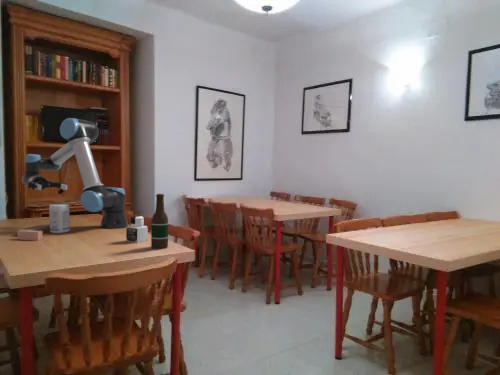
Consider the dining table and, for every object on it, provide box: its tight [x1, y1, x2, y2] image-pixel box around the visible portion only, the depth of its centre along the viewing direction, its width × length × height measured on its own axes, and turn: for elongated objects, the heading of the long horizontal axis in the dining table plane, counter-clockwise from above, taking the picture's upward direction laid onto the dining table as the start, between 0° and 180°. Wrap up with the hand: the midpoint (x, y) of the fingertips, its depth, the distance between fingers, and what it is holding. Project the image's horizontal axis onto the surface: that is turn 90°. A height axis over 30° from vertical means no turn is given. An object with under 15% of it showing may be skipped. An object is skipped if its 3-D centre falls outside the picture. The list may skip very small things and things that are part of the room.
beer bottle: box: [150, 193, 169, 250], centre depth 164 cm, size 8×8×24 cm
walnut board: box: [15, 223, 50, 237], centre depth 193 cm, size 6×21×3 cm, turn 170°
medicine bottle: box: [125, 215, 149, 244], centre depth 177 cm, size 7×7×12 cm
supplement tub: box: [48, 203, 71, 234], centre depth 196 cm, size 10×10×15 cm
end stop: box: [16, 230, 43, 241], centre depth 176 cm, size 11×3×4 cm, turn 80°
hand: (54, 187), depth 201 cm, fingers open, 13 cm apart
